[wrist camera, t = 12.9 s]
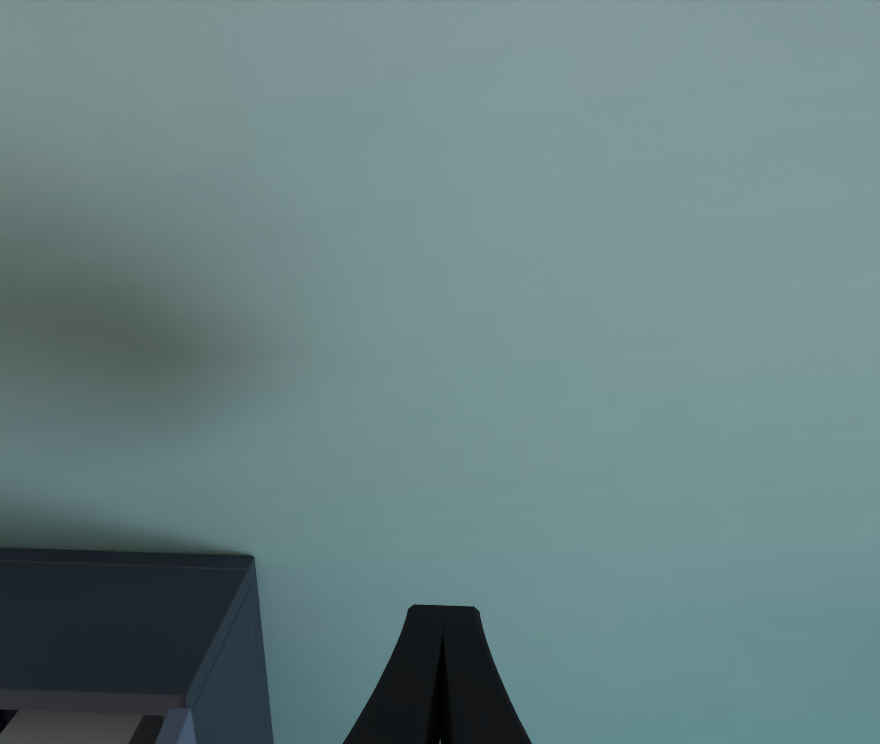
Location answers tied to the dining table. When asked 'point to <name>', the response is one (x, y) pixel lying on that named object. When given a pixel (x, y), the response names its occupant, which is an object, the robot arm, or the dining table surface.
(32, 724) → the grey block
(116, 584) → the open box
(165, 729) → the box lid
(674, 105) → the dining table surface
